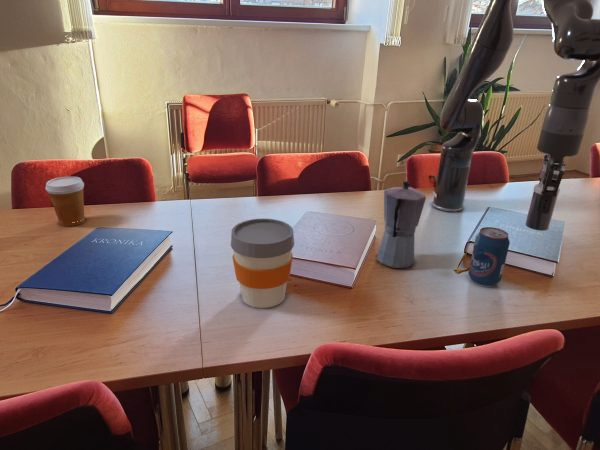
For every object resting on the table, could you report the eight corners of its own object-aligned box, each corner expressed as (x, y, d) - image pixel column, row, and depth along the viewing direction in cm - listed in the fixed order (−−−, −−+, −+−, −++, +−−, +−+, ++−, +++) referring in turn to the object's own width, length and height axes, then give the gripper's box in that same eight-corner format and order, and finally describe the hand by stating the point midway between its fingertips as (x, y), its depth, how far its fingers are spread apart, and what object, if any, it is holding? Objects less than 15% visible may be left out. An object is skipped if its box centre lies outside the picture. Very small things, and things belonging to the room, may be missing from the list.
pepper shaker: (524, 220, 100) (534, 182, 96) (548, 224, 98) (558, 186, 94) (525, 228, 96) (535, 189, 92) (549, 232, 94) (561, 193, 90)
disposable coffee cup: (45, 225, 122) (35, 184, 117) (73, 213, 130) (65, 174, 125) (71, 231, 119) (62, 189, 114) (98, 218, 127) (91, 178, 122)
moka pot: (418, 251, 113) (430, 176, 105) (412, 280, 99) (424, 197, 91) (381, 245, 115) (389, 171, 107) (370, 273, 102) (378, 191, 94)
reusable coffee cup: (270, 320, 85) (270, 251, 79) (220, 300, 91) (216, 233, 85) (304, 291, 94) (306, 227, 88) (257, 274, 100) (256, 213, 94)
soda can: (462, 280, 100) (471, 232, 95) (474, 269, 105) (484, 223, 100) (492, 292, 96) (504, 242, 91) (504, 280, 100) (516, 232, 96)
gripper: (589, 138, 81) (564, 223, 88) (579, 124, 93) (558, 200, 100) (544, 134, 84) (523, 216, 91) (540, 121, 96) (521, 194, 103)
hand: (541, 207), depth 95 cm, fingers closed on pepper shaker, 4 cm apart
